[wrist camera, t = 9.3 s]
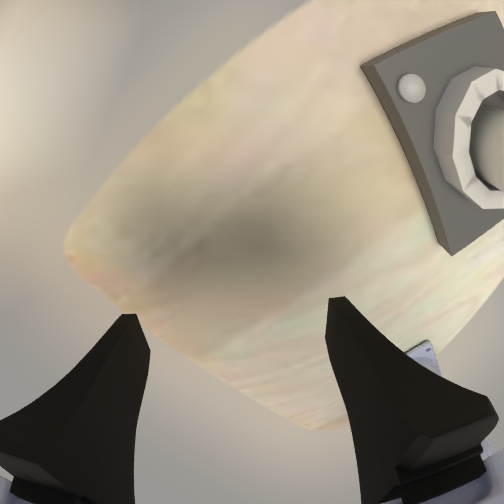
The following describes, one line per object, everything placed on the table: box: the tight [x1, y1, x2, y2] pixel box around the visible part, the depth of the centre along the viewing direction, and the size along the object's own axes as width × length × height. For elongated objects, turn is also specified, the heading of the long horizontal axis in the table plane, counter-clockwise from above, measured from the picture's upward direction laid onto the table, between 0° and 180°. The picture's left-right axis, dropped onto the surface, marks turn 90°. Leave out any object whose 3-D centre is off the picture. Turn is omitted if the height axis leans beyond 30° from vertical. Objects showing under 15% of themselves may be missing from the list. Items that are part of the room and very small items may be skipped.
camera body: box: [361, 11, 504, 256], centre depth 15 cm, size 14×11×4 cm
